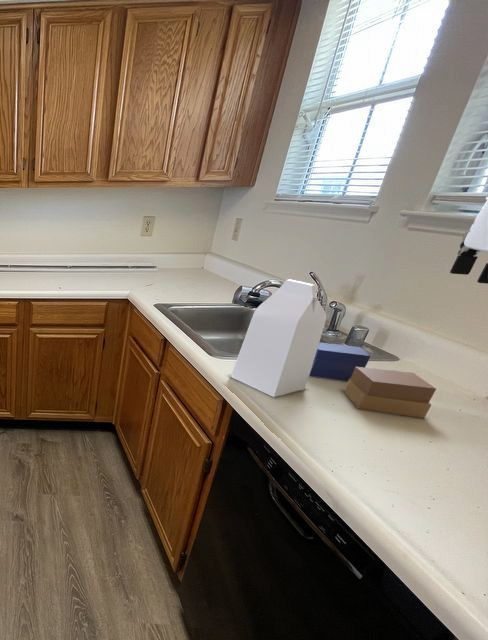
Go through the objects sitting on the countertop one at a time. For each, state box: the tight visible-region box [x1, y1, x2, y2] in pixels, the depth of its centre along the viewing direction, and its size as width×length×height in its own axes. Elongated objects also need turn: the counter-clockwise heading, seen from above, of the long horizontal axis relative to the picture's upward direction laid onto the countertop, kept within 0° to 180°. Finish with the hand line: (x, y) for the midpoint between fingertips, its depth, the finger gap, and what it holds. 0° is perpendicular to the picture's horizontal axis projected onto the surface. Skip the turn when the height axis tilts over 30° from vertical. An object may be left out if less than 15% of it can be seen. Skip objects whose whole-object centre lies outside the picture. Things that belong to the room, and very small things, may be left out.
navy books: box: [309, 358, 367, 382], centre depth 111 cm, size 11×7×5 cm, turn 69°
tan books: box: [343, 367, 437, 419], centre depth 96 cm, size 12×9×7 cm
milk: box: [230, 279, 327, 398], centre depth 102 cm, size 12×12×26 cm
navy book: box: [315, 341, 371, 366], centre depth 109 cm, size 11×6×2 cm, turn 69°
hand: (472, 278), depth 91 cm, fingers open, 9 cm apart
